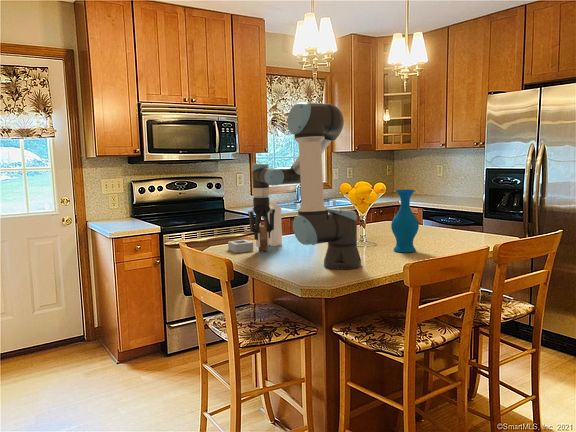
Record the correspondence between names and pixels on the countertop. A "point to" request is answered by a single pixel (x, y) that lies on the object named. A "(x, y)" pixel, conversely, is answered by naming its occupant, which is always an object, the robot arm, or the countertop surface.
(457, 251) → the countertop surface
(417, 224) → the vase
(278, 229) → the milk
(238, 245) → the socket block
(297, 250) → the countertop surface
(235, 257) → the countertop surface
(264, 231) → the peg
